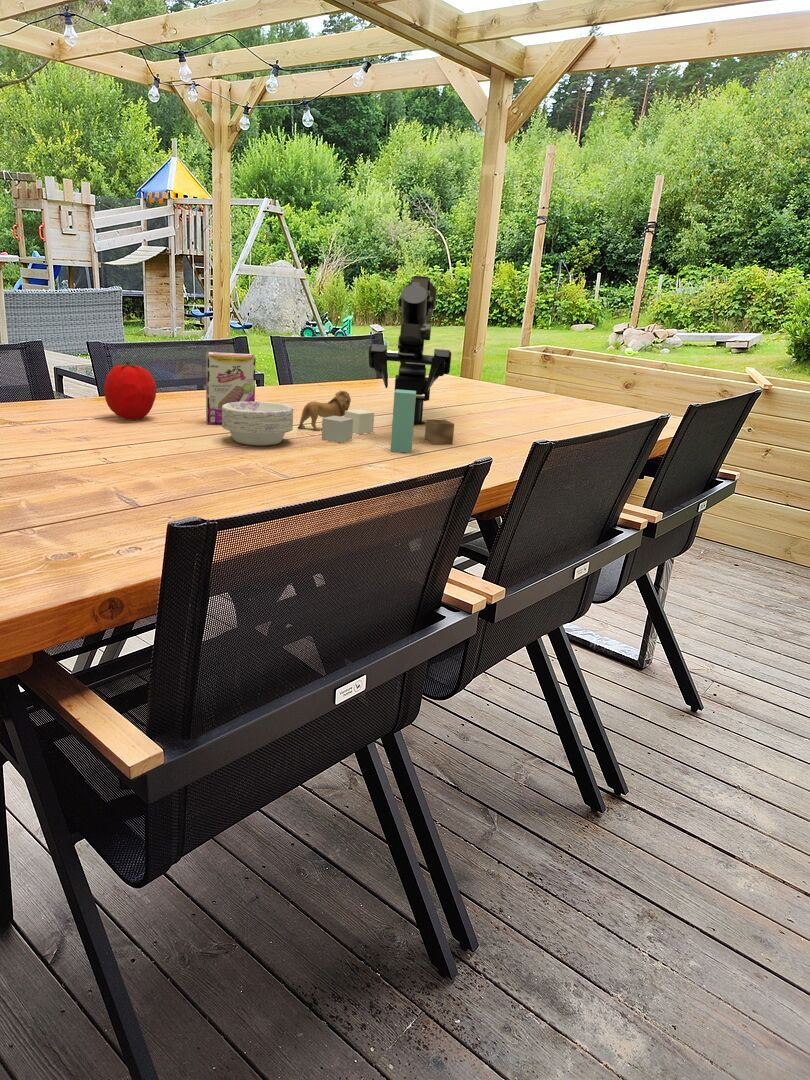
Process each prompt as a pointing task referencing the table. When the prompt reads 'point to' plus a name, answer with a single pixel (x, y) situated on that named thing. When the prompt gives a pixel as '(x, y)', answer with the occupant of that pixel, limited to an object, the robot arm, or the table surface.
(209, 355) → the candy bar box
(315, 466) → the table surface
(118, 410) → the tomato
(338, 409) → the lion figurine
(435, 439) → the walnut cube
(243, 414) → the paper bowls
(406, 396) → the green block
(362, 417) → the off-white cube
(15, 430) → the table surface
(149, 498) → the table surface
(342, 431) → the grey cube
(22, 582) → the table surface
